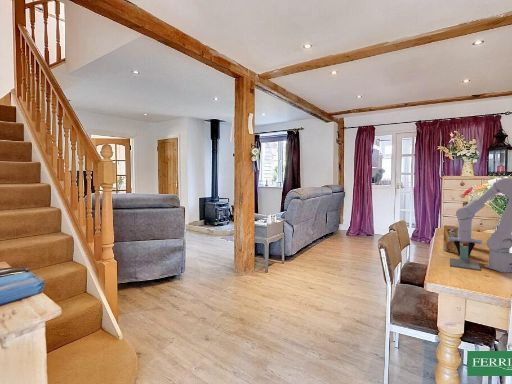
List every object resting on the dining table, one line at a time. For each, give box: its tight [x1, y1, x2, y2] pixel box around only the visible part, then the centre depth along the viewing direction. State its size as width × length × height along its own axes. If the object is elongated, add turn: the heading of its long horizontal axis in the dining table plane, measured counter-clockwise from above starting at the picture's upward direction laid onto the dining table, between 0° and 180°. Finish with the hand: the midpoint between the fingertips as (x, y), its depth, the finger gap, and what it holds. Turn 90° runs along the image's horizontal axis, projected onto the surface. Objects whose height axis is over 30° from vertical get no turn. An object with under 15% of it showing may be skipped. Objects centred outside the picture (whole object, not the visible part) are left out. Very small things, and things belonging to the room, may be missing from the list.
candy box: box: [442, 224, 463, 254], centre depth 167 cm, size 9×4×15 cm, turn 33°
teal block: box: [459, 246, 469, 260], centre depth 152 cm, size 4×4×6 cm
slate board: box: [449, 257, 481, 271], centre depth 144 cm, size 14×12×1 cm
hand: (463, 255), depth 152 cm, fingers closed on teal block, 3 cm apart
